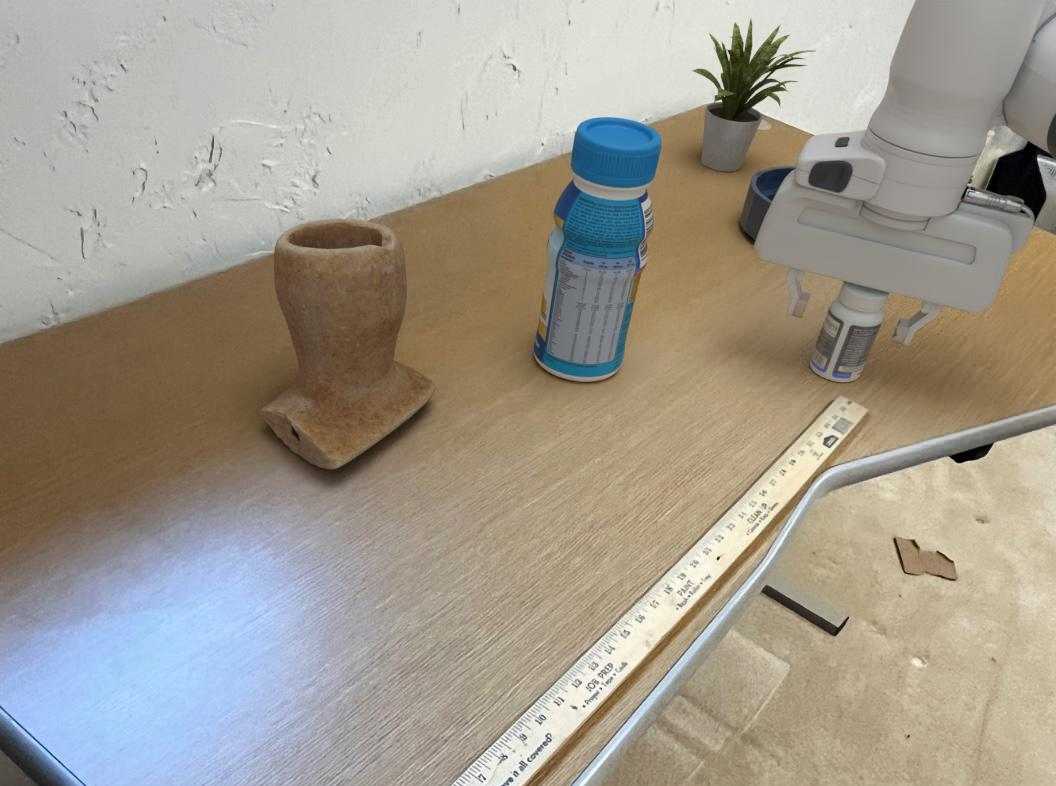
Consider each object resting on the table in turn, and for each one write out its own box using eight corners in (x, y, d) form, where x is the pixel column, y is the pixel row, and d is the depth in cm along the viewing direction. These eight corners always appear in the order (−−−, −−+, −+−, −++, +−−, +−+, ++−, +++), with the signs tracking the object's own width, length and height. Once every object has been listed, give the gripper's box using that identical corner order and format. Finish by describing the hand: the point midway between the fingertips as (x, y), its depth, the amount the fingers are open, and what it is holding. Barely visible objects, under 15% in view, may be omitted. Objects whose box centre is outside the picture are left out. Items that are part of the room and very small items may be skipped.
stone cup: (342, 353, 87) (341, 183, 76) (452, 403, 83) (467, 231, 72) (221, 429, 78) (200, 248, 67) (337, 490, 74) (334, 307, 63)
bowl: (888, 246, 112) (906, 203, 108) (813, 276, 105) (829, 231, 101) (789, 199, 119) (803, 157, 115) (713, 224, 112) (724, 180, 109)
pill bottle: (865, 367, 92) (900, 284, 86) (852, 389, 89) (888, 305, 83) (815, 350, 94) (847, 267, 88) (802, 372, 91) (833, 288, 85)
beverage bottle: (565, 394, 85) (608, 159, 71) (513, 347, 90) (543, 118, 76) (641, 373, 88) (697, 144, 74) (586, 328, 93) (629, 106, 79)
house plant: (754, 200, 118) (798, 52, 106) (649, 169, 122) (681, 23, 111) (790, 165, 127) (835, 24, 115) (691, 137, 131) (724, -1, 120)
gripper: (1044, 189, 79) (966, 342, 89) (791, 133, 83) (743, 284, 93) (1046, 219, 75) (964, 375, 84) (779, 157, 79) (731, 313, 89)
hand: (846, 327), depth 89 cm, fingers open, 8 cm apart
